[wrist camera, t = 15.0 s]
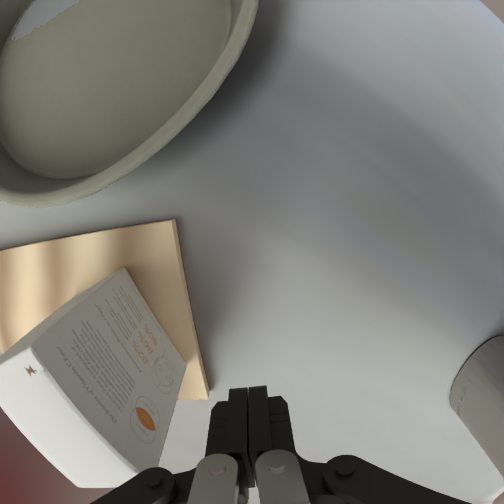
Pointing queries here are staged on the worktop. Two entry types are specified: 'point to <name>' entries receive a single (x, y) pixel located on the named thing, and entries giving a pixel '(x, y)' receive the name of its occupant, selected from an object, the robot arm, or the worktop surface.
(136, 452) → the small box
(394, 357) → the worktop surface
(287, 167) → the worktop surface
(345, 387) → the worktop surface
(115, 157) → the cake pan
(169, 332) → the maple board
